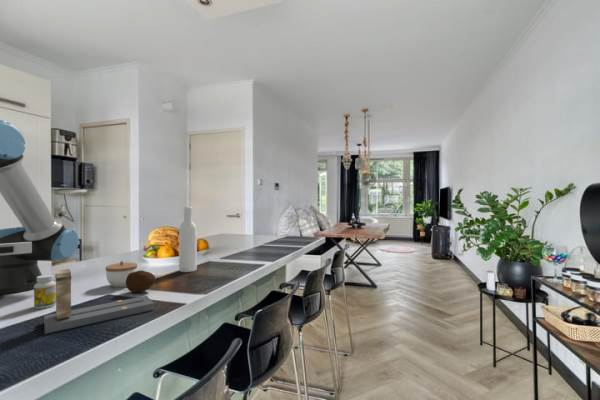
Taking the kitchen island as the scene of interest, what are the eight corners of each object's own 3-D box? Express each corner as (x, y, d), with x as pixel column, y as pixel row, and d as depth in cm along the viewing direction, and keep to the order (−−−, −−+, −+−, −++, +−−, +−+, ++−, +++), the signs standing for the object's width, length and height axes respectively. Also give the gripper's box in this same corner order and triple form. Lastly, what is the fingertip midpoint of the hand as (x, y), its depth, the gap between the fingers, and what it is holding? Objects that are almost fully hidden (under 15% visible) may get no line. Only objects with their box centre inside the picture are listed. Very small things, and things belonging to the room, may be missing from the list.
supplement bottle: (60, 304, 98) (59, 274, 98) (40, 310, 93) (40, 279, 93) (49, 302, 100) (49, 273, 99) (30, 307, 95) (29, 277, 94)
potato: (127, 290, 112) (127, 269, 112) (156, 287, 116) (156, 267, 116) (123, 296, 106) (123, 274, 105) (154, 293, 109) (154, 271, 109)
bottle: (178, 269, 145) (178, 206, 144) (195, 267, 148) (196, 206, 148) (179, 273, 138) (179, 207, 137) (197, 271, 141) (197, 206, 141)
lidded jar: (123, 290, 113) (123, 265, 112) (98, 288, 115) (98, 263, 115) (143, 282, 123) (143, 259, 123) (120, 280, 125) (120, 257, 125)
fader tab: (56, 319, 80) (56, 274, 80) (55, 313, 84) (55, 270, 84) (71, 316, 82) (71, 272, 82) (70, 310, 86) (69, 268, 86)
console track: (44, 334, 77) (44, 325, 77) (44, 322, 84) (44, 314, 84) (154, 309, 94) (154, 302, 94) (146, 301, 101) (146, 295, 101)
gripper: (-108, 271, 68) (32, 257, 83) (-134, 284, 58) (31, 266, 73) (-109, 237, 68) (32, 230, 83) (-134, 245, 58) (31, 235, 73)
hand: (31, 247), depth 78 cm, fingers closed
